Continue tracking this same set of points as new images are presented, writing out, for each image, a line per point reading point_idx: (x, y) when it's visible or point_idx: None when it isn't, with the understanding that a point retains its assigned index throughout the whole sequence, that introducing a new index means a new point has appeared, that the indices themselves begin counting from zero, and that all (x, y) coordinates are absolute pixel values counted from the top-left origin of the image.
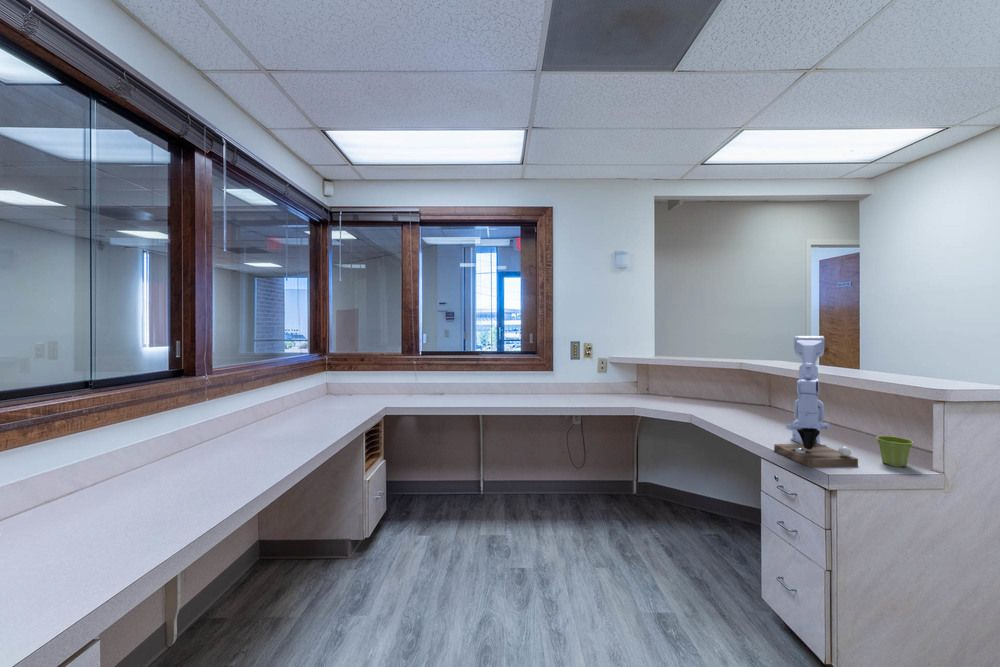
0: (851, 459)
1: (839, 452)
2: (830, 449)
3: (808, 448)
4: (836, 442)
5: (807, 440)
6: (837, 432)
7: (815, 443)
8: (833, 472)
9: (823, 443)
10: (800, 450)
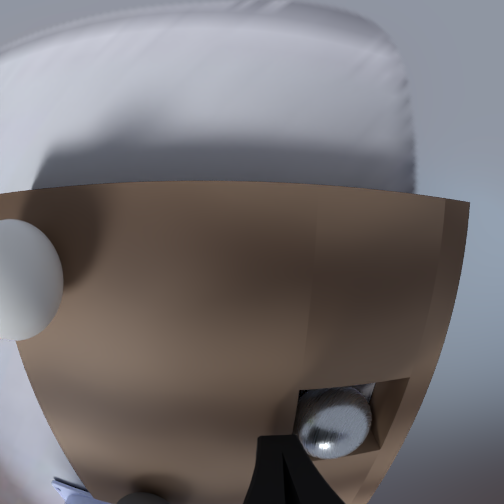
0: (34, 191)
1: (58, 287)
2: (67, 426)
3: (298, 439)
4: (14, 474)
5: (344, 502)
6: (3, 497)
7: (132, 498)
8: (337, 58)
9: (57, 489)
10: (359, 424)
